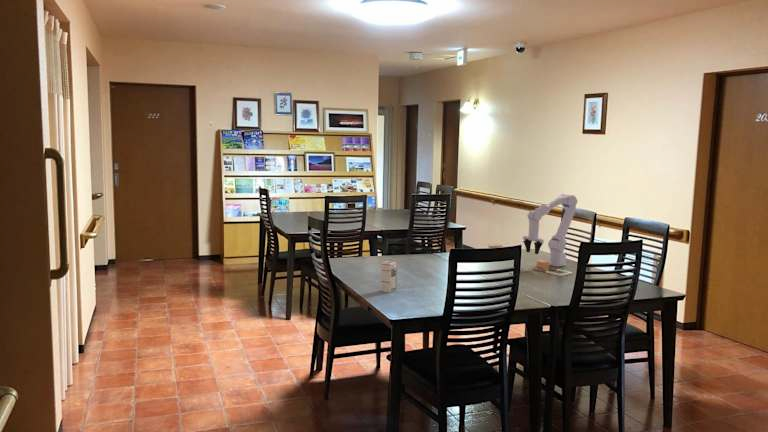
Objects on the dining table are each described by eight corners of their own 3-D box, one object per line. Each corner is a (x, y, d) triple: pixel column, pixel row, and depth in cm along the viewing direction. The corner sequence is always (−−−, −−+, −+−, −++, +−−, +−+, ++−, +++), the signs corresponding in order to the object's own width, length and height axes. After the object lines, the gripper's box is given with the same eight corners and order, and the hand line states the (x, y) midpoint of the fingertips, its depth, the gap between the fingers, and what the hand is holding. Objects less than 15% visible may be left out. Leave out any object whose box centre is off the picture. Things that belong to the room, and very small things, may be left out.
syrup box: (390, 292, 305) (391, 263, 303) (380, 291, 308) (380, 261, 306) (396, 290, 310) (397, 261, 308) (386, 288, 313) (387, 260, 311)
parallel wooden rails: (541, 267, 377) (542, 264, 377) (556, 270, 368) (556, 268, 368) (532, 268, 372) (532, 266, 372) (547, 272, 364) (547, 269, 363)
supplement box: (501, 265, 379) (502, 244, 378) (501, 267, 374) (503, 245, 373) (487, 265, 380) (488, 243, 378) (487, 266, 375) (489, 245, 374)
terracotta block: (542, 268, 375) (542, 260, 374) (548, 270, 371) (549, 261, 370) (536, 269, 372) (536, 260, 372) (542, 270, 368) (543, 262, 368)
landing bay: (558, 270, 369) (558, 269, 369) (572, 274, 361) (572, 272, 360) (545, 272, 363) (545, 270, 363) (560, 276, 354) (560, 274, 354)
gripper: (519, 229, 379) (518, 251, 381) (538, 232, 368) (537, 255, 369) (527, 228, 383) (526, 250, 385) (546, 232, 372) (545, 254, 373)
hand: (532, 253), depth 377 cm, fingers open, 6 cm apart
